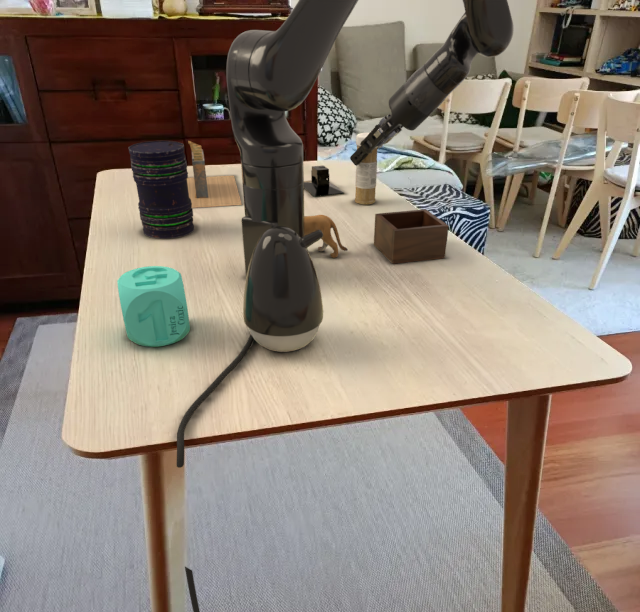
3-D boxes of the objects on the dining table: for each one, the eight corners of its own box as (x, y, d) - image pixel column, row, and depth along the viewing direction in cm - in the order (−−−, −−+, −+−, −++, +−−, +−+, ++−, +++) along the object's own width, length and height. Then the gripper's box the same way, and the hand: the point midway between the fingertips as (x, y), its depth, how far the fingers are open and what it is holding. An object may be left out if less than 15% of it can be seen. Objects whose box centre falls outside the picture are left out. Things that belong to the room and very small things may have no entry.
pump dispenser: (334, 354, 77) (335, 236, 68) (254, 367, 75) (244, 246, 66) (312, 320, 85) (311, 210, 76) (239, 330, 83) (229, 218, 74)
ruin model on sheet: (166, 179, 148) (159, 135, 142) (233, 175, 150) (230, 132, 144) (163, 209, 128) (156, 159, 122) (241, 204, 130) (238, 156, 124)
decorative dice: (130, 351, 78) (117, 293, 74) (127, 324, 85) (116, 269, 80) (192, 342, 80) (184, 285, 76) (185, 316, 86) (177, 262, 82)
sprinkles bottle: (365, 198, 134) (368, 131, 126) (379, 202, 131) (383, 134, 123) (350, 201, 132) (351, 134, 124) (364, 206, 129) (367, 137, 121)
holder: (444, 258, 104) (448, 225, 101) (392, 264, 102) (394, 230, 99) (422, 239, 112) (425, 209, 109) (373, 244, 110) (375, 213, 107)
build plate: (344, 194, 136) (344, 173, 134) (313, 198, 134) (313, 176, 132) (325, 180, 146) (325, 159, 143) (296, 183, 144) (295, 162, 141)
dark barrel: (158, 242, 111) (144, 155, 102) (133, 229, 117) (117, 146, 108) (205, 230, 117) (195, 146, 108) (178, 218, 122) (167, 138, 114)
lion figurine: (263, 259, 104) (260, 206, 99) (264, 248, 108) (261, 197, 103) (348, 258, 105) (350, 204, 99) (346, 247, 109) (347, 195, 104)
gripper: (417, 76, 120) (359, 137, 131) (394, 85, 110) (332, 151, 121) (441, 108, 122) (380, 166, 133) (419, 120, 111) (356, 182, 122)
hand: (358, 158), depth 127 cm, fingers closed on sprinkles bottle, 4 cm apart
